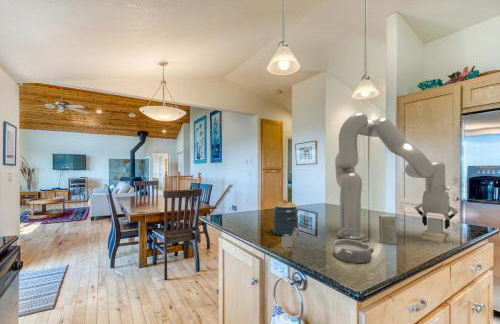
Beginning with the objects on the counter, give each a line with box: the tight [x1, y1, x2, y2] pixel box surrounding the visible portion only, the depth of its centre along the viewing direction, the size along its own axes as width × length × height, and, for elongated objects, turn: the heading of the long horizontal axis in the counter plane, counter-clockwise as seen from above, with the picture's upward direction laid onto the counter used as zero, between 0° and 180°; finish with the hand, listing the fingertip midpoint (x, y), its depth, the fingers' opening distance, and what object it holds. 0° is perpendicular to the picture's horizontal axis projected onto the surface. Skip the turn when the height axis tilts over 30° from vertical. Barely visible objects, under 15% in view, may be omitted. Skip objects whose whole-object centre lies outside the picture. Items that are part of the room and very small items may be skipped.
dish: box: [332, 238, 375, 264], centre depth 94 cm, size 14×14×5 cm
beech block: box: [421, 229, 451, 245], centre depth 116 cm, size 8×8×4 cm
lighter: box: [280, 228, 300, 249], centre depth 105 cm, size 7×2×8 cm, turn 99°
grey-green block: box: [427, 217, 444, 234], centre depth 117 cm, size 5×5×6 cm
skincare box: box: [378, 214, 397, 245], centre depth 112 cm, size 6×4×12 cm
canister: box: [272, 198, 299, 237], centre depth 127 cm, size 13×13×18 cm
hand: (435, 226), depth 117 cm, fingers open, 7 cm apart
